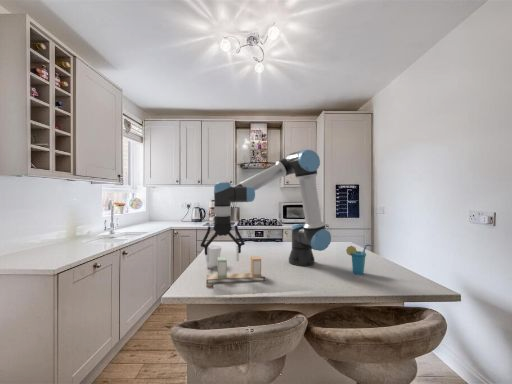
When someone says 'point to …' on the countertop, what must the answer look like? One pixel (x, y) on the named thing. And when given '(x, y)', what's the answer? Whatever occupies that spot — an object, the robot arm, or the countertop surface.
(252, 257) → the faced carton
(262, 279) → the wavy tan tray
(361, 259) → the cup
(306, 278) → the countertop surface
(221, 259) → the carton
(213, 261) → the cup
